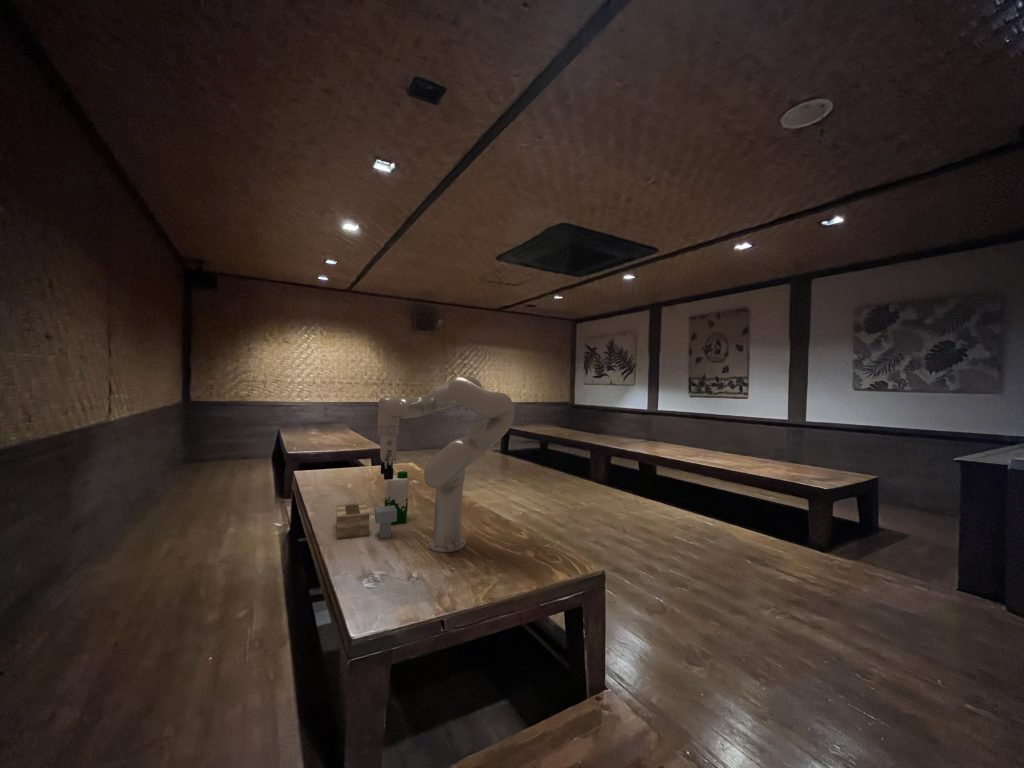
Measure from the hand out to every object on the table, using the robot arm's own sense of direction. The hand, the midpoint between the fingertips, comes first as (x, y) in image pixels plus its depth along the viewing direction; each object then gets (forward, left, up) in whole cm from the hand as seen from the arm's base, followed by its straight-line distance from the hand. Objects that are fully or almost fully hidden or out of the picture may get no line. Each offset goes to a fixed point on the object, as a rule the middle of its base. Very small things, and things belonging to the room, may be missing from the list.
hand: (386, 476), depth 147 cm
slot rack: (+10, +11, -22) cm, 26 cm away
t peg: (0, 0, -22) cm, 22 cm away
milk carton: (+15, -6, -22) cm, 27 cm away
